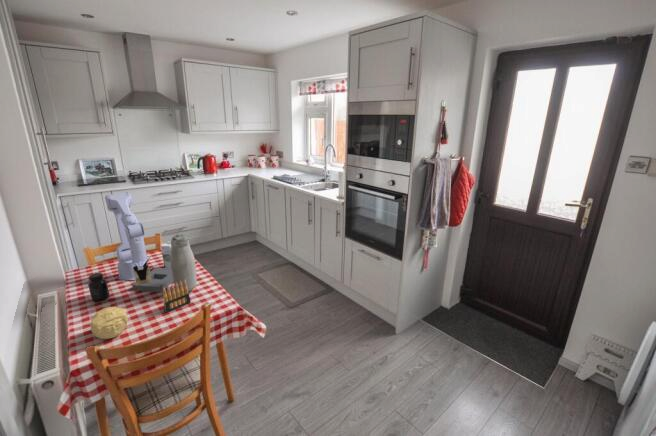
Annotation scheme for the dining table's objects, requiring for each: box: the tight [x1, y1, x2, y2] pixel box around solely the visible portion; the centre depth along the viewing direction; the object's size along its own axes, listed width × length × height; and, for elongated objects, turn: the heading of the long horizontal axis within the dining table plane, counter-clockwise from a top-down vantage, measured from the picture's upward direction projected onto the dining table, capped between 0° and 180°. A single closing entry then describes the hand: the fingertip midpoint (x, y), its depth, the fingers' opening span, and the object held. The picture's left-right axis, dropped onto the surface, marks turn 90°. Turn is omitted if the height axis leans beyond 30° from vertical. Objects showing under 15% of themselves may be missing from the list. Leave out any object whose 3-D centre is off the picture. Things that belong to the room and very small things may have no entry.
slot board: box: [131, 267, 174, 293], centre depth 161 cm, size 14×18×3 cm
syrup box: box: [160, 241, 171, 269], centre depth 173 cm, size 6×6×14 cm
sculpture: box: [90, 306, 129, 340], centre depth 122 cm, size 11×12×11 cm
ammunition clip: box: [162, 279, 191, 314], centre depth 139 cm, size 11×2×12 cm, turn 138°
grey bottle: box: [170, 233, 198, 292], centre depth 150 cm, size 10×10×28 cm
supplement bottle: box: [87, 272, 111, 303], centre depth 144 cm, size 7×7×12 cm
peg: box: [134, 264, 151, 286], centre depth 146 cm, size 6×4×7 cm, turn 120°
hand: (143, 277), depth 146 cm, fingers closed on peg, 4 cm apart
